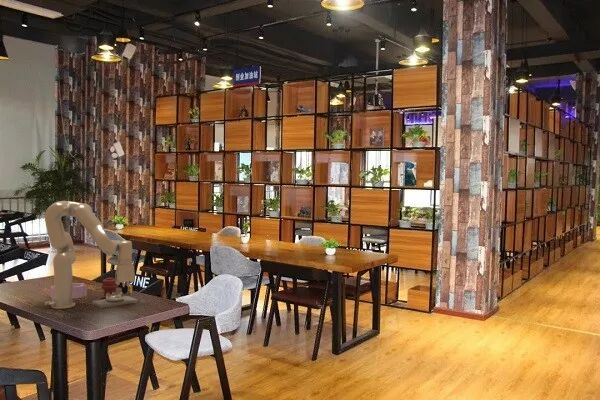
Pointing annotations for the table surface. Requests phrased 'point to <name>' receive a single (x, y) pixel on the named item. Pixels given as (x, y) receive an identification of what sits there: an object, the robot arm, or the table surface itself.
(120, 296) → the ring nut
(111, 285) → the mechanical component
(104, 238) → the robot arm
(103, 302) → the base plate
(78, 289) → the pink rectangular box
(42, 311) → the table surface
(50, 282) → the table surface
